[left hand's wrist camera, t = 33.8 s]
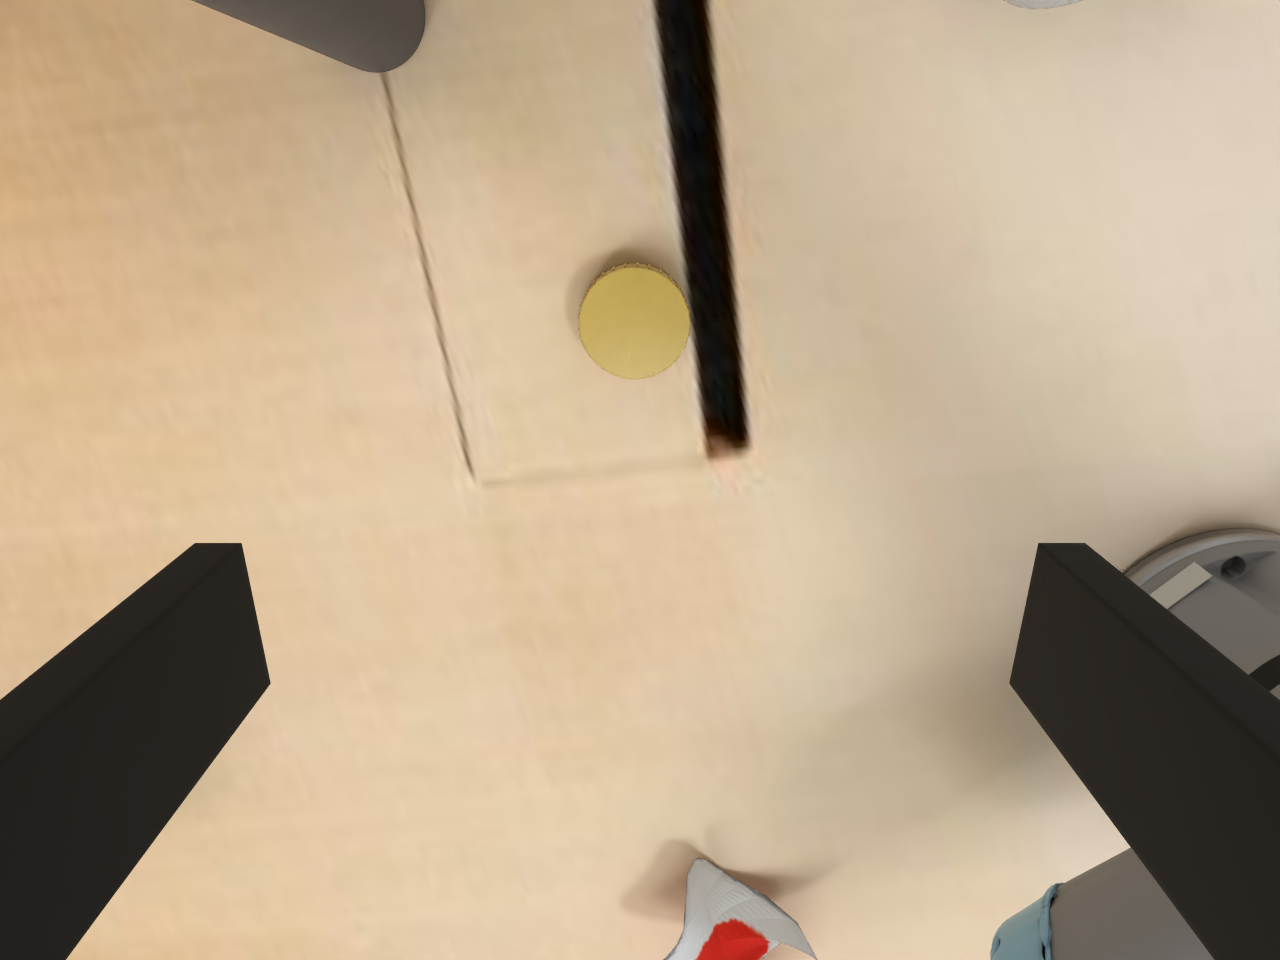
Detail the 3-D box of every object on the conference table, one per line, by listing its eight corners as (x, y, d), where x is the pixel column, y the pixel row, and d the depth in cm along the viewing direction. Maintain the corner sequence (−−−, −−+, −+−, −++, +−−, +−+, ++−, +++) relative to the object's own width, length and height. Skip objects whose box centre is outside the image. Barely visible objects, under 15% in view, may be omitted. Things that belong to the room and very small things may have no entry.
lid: (567, 351, 41) (563, 360, 39) (599, 246, 39) (597, 249, 37) (667, 384, 42) (669, 395, 40) (704, 282, 40) (707, 288, 38)
